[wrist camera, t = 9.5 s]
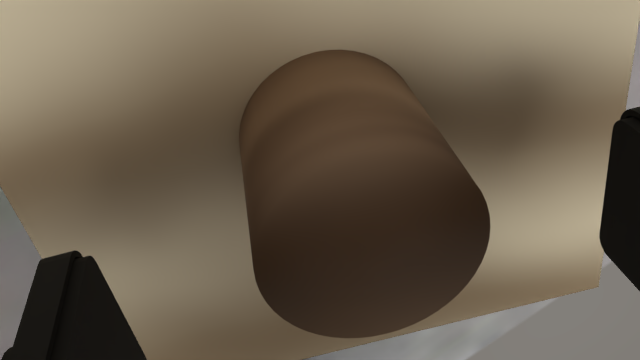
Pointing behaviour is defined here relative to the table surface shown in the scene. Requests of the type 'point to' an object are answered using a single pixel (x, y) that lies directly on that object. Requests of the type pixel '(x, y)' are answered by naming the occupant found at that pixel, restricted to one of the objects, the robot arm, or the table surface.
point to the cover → (313, 159)
